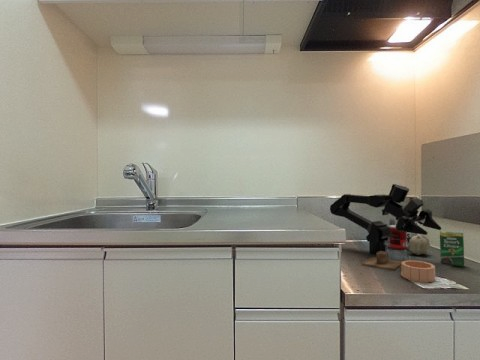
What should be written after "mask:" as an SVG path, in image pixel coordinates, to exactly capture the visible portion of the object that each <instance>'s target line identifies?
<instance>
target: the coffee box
mask: <svg viewBox="0 0 480 360" xmlns="http://www.w3.org/2000/svg"><path fill="white" fill-rule="evenodd" d="M464 241H465V240H464V233H463V232H454V231H453V232H451V231H439V246H440V248H439V249H440V263H441V264H443V263H444V264H448V265H450V266H455V267H456V266H457V267H463V268H464V267H465V247H464V245H465V244H464V243H465V242H464Z"/></svg>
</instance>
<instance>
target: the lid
mask: <svg viewBox="0 0 480 360" xmlns="http://www.w3.org/2000/svg"><path fill="white" fill-rule="evenodd" d="M376 254H377V255H376V256H371V257H369V258H368V259H366V260H364V261H365V262H364V261H363V262H361V263H362V265H364V266H363V267H365V266H370V267H375V268H374V269H376V268H381V269H386V270H385V271H387V270H392V271H395V270H396V269H397V268H399V267H400V266H401V262H402V261H400V260H393V259H389V251H387V252H385V251H379V252H378V253H376ZM370 267H369V268H370ZM381 269H380V270H381ZM392 271H391V272H392Z"/></svg>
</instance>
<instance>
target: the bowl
mask: <svg viewBox="0 0 480 360" xmlns="http://www.w3.org/2000/svg"><path fill="white" fill-rule="evenodd" d="M400 270H401V272H400V273H401V276H402V278H404V279H406V280H409V281H414V282H419V283H431V282H435V281H436V266H435V265H434V264H433V263H430V262H426V261H421V260H410V259H409V260H403V261H401V269H400Z"/></svg>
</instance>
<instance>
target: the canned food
mask: <svg viewBox="0 0 480 360" xmlns="http://www.w3.org/2000/svg"><path fill="white" fill-rule="evenodd" d="M395 226H396V224H391V225H390V224H389V226H388V227H389V228H390V230H391V235H390V237H389V238H388V240H389V242H388V243H389V244H388V245H389V246H388V247H389V248H390V249H391V250H392V249H393V250H397V251H398V250H399V251H401V250H402V251H404V250H406V249H407V232H400V231H398V230H397V229H396V227H395Z"/></svg>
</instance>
